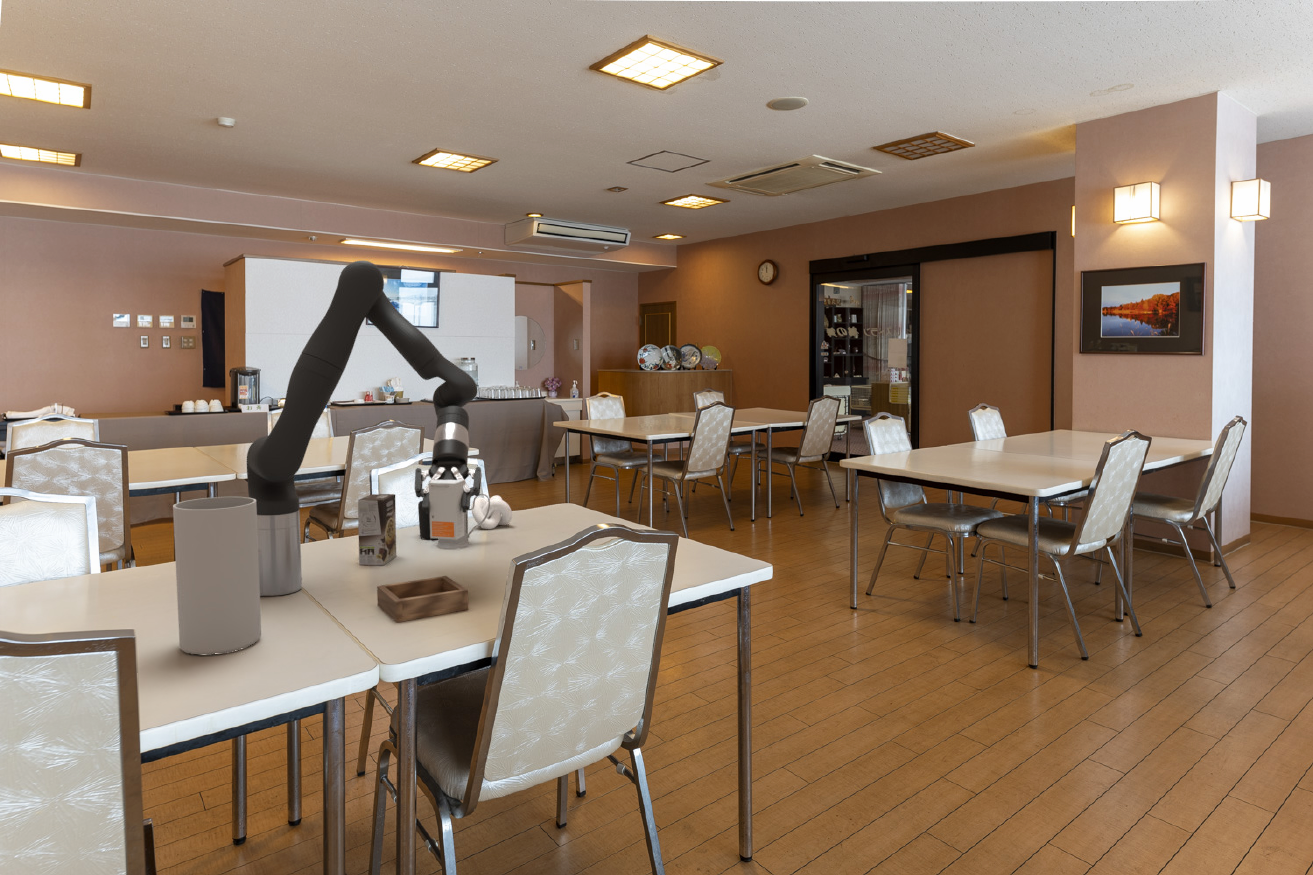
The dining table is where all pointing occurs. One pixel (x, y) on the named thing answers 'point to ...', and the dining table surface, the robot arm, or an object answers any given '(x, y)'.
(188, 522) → the cylinder vase
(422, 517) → the black smart speaker
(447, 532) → the skincare box
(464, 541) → the glass holder
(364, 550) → the coffee box
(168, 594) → the dining table surface
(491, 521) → the white knot sculpture
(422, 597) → the tray
